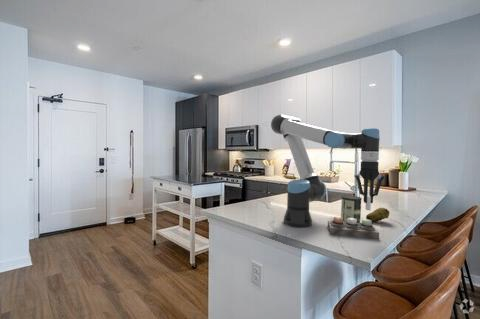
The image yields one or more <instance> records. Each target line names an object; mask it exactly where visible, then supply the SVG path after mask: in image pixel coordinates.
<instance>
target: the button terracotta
mask: <svg viewBox="0 0 480 319" xmlns="http://www.w3.org/2000/svg"><path fill="white" fill-rule="evenodd" d="M332 217H333V219H332V220H333V222H335V223H342V219H343V218H341V216H332Z"/></svg>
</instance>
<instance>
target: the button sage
mask: <svg viewBox="0 0 480 319" xmlns="http://www.w3.org/2000/svg"><path fill="white" fill-rule="evenodd" d="M361 223H362V225H366V226H371V224H372V222H371V220H368V219H366V218H361Z"/></svg>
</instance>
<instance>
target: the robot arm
mask: <svg viewBox="0 0 480 319" xmlns="http://www.w3.org/2000/svg"><path fill="white" fill-rule="evenodd" d="M270 128H271V130H272V131H273V132H274V133H275V134H278V135H282V137H283V139H284V141H286V142H287V143H288V146H289V149H290V153H291V155H292V158H293V161H294V164H295V167H296V169H297V173H298V176H299V178H298V179H292V180H290V181H289V182H288V183H287V188H286V189H287V199H286V200H287V201H286V202H287V203H286V210H285V213H284V216H283V222H282V223H284V225H286V226H289V227H292V228H299V229H300V228H303V229H304V228H310V227H312V225H313V220H312V216H311V213H310V212H311V211H310V203H312V202H317V201H320V200H322V199H323V198H324V197H325V195H326V193H327V185H326V184H325V183H324V181H322V180H320V178H319V174H316V173H315V172H314V169H313V166H312V163H311V160H310V157H309V154H308V152H307V149H306V146H305V144H304V141H303V139H304V140H308V141H311V142H314V143H318V144H321V145H324V146H327V147H329V148H331V149H344V150H345V149H360V160H361V161H360V171H359V172H358V173H357V174H354V178H355V179H356V182H357V183H356V184H357V187H358V188H357V189H358V192H359V194H360V195H361V196H363V203H364V204H365V210H366V211H371V206H372V204H374V203H373V202H374V197H375V196H378V195H379V192H380V188H381V185H382V182H383V181H384V179H385V176H384V175H381V173H380V172H379V160H380V158H379V156H380V155H379V154H380V152H379V151H380V140H381V139H380V130H379V129H378V128H375V127H374V128H370V127H369V128H362V129H361V132H358V133H349V132H348V133H347V132H341V131H335V130H330V129H327V128H323V127H319V126H315V125H310V124H307V123H303V121H302V120H301V119H300V118H299V117H297V116H292V115H285V114H278V115H275V116H274V117H273V118H272V120H271V122H270ZM361 178H362V179H363V186H362V182H361ZM376 179H377V180H376ZM375 180H376V184H375ZM374 185H375V186H374ZM368 191H369V192H368ZM368 193H369V194H368Z"/></svg>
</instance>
